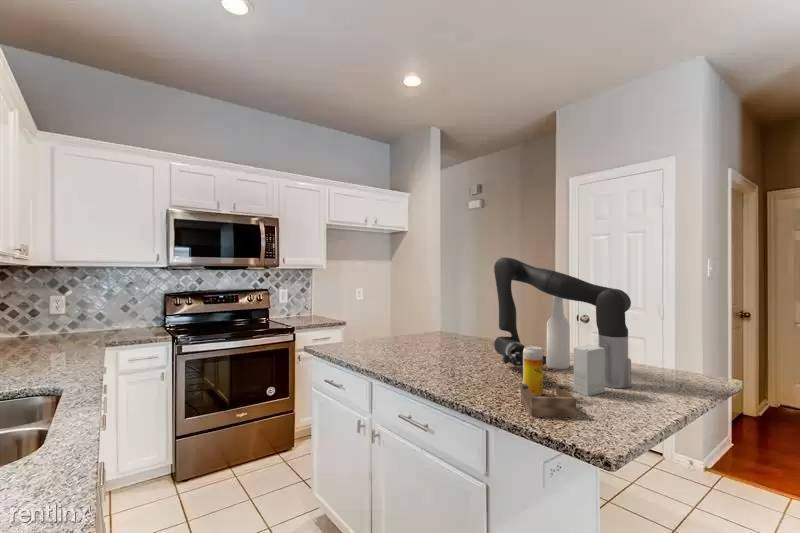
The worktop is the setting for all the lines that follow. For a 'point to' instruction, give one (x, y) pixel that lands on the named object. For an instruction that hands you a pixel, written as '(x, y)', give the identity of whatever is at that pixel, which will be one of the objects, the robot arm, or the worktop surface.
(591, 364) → the skincare box
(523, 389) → the holder
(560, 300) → the alcohol
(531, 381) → the beer can
